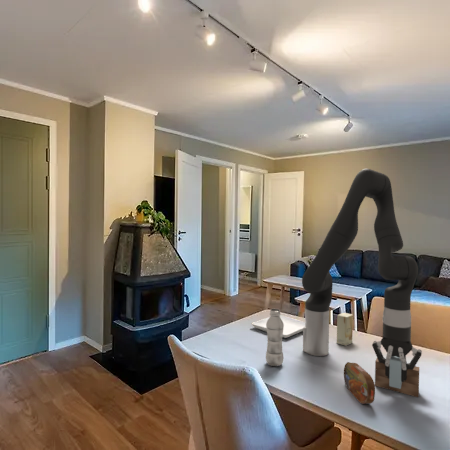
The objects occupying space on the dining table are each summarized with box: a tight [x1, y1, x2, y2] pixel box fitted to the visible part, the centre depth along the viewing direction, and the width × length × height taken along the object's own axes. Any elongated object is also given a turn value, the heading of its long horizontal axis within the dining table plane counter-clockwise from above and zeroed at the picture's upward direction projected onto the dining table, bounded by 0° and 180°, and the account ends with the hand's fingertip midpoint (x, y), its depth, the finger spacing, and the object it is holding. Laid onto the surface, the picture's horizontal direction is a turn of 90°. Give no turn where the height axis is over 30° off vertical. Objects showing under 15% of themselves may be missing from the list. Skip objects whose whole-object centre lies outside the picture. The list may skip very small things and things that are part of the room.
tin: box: [343, 361, 376, 405], centre depth 100 cm, size 15×3×8 cm, turn 5°
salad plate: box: [251, 314, 305, 339], centre depth 158 cm, size 21×21×3 cm
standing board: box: [374, 357, 420, 398], centre depth 104 cm, size 12×3×8 cm, turn 57°
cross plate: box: [389, 356, 402, 389], centre depth 104 cm, size 14×3×8 cm, turn 147°
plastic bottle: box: [265, 308, 284, 367], centre depth 120 cm, size 6×7×20 cm
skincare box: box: [336, 312, 354, 346], centre depth 141 cm, size 6×4×12 cm
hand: (395, 378), depth 100 cm, fingers closed on cross plate, 3 cm apart
